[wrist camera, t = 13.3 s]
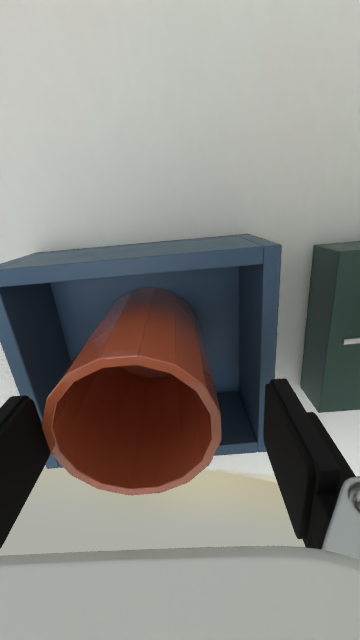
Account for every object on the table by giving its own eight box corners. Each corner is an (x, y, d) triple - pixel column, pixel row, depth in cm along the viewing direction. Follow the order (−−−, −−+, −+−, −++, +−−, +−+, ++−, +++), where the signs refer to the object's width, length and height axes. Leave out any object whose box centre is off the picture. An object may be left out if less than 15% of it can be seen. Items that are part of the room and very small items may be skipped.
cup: (197, 282, 18) (218, 348, 9) (203, 372, 20) (223, 488, 12) (92, 291, 18) (19, 365, 9) (111, 380, 20) (66, 500, 12)
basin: (248, 233, 17) (282, 244, 12) (247, 392, 22) (271, 451, 16) (35, 252, 17) (-27, 271, 12) (77, 405, 22) (46, 469, 17)
